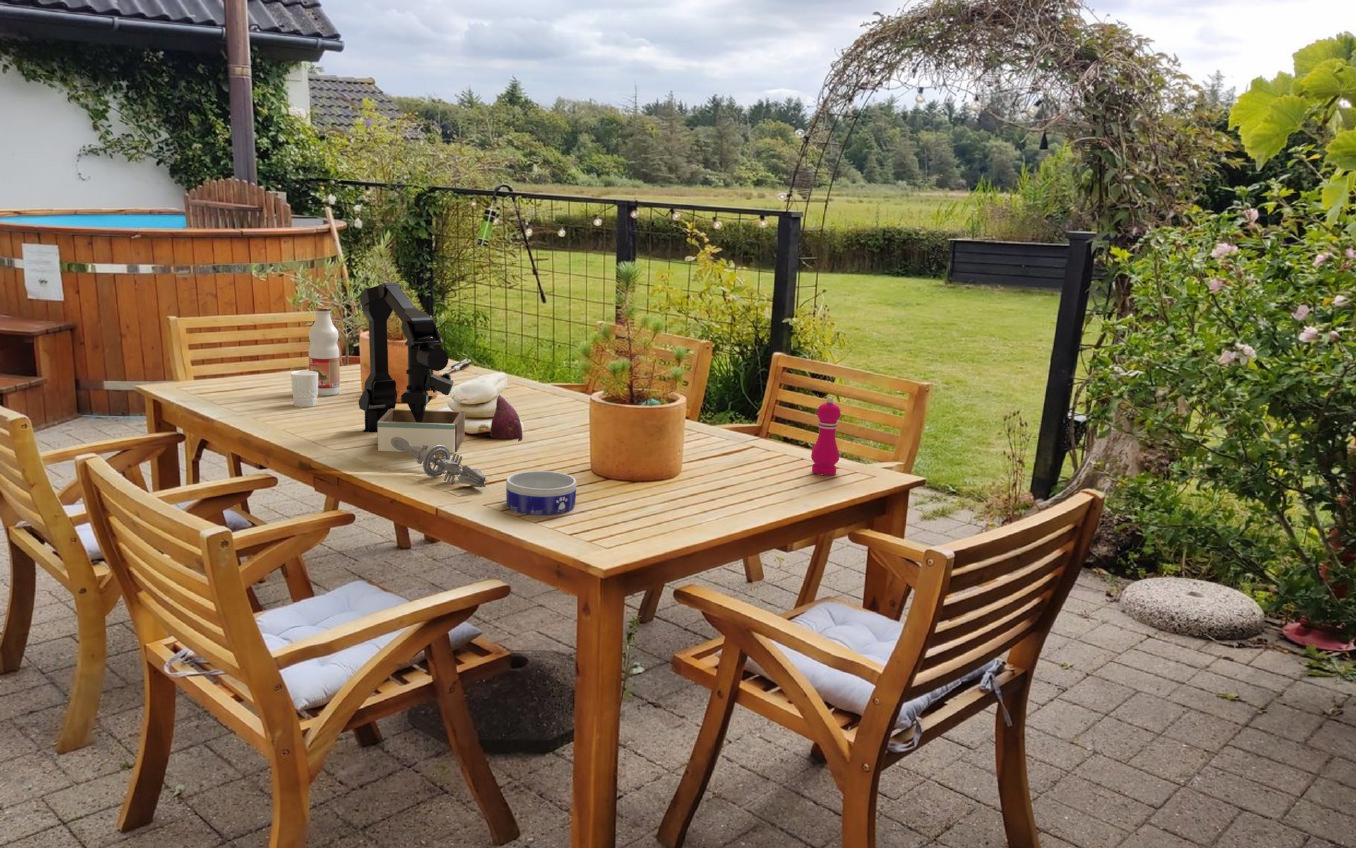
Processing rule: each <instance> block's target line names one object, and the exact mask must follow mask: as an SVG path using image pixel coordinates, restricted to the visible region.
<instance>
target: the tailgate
mask: <svg viewBox="0 0 1356 848" xmlns="http://www.w3.org/2000/svg"><path fill="white" fill-rule="evenodd" d="M394 437H400V438H403V439H405V440H407V441H409V443H410V444H411V445H412V446H416V447H423V445H427V446H428V448H427V450H428V451H429V450H430V449H431V448H432V447H434V446H437V445H443V446H445V447H446V448H447V449H448V450H449V452H450V454H454V453H455V454H456V452H455V424H443V423H413V422H383V421H379V422H378V432H377V451H378V452H393V453H394V452H400V453H403V452H402V451H400V450H397V449H396V448H394V447H393V446H392V444H391V439H392V438H394ZM437 454H439V452H438V453H437Z"/></svg>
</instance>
